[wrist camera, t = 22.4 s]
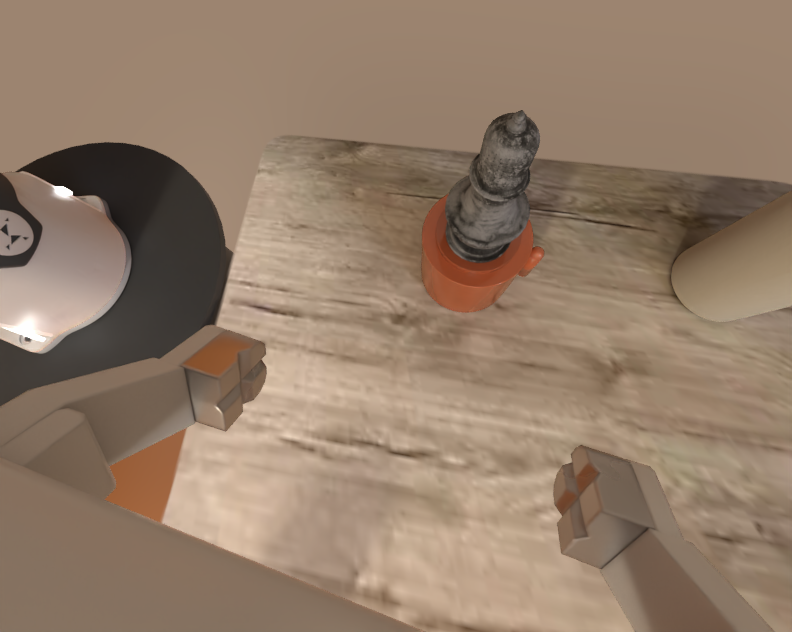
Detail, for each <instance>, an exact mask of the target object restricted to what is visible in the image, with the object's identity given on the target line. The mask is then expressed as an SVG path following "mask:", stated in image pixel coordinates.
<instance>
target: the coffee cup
mask: <svg viewBox="0 0 792 632" xmlns="http://www.w3.org/2000/svg"><path fill="white" fill-rule="evenodd" d="M447 196H448V195H446V196H444V197H443V198H442V199H440V200H439V201H438V202H437V203H436V204H435V205H434V206H433V207H432V209H431V210H430V211H429V213H428V215H427V217H426V219H425V222H424V225H423V231H422V259H421V275H422V281H423V284H424V286H425V288H426V290H427V292H428V293H429V295H430V296H431V297H432V298H433V299H434V300H435V301H436V302H437V303H438V304H440V305H441V306H443V307H445V308H447V309H450V310H453V311H457V312H475V311H479V310H482V309H485V308H487V307H489V306H490V305H492V304H493V303H494V302H496V301H497V300H498V299H499V298H500V296H501V295H502V294H503V293H504V291H505V290H506V289H507V288H508V286H509V285H510V284H511V282H512V281H513V280H514V279H515V277H516V276H517V275H519V276H521V277H525V276H527V275H528V274H529V273H530V272H531V271H532V269H533V268H534V267H535V266H536V265H537V264H538V262H539V261H540V260H541V259H542V258H543V256H544V250H543V248H541V247H538V246H536V247H533V230H532V226H531V223H530V220H528V222H527V225H526V227H525V229H524V230H523V231H522V233H521V234H520V235H519V236H518V237H517V238H515V239H514V240H513V241H511V243H510V245H509V248H508V249H507V250H506V251H505V253H504V254H503V255H501V256H500V257H499V258H497V259H495V260H493V261H490V262H485V263H474V262H469V261H467V260H464V259H462V258H460V257H459V256H458V255H456V254H455V253H454V252H453V251H452V249H451V248H450V247H449V244H448V242H447V240H446V233H445V231H446V224H447V220H446V214H445V205H446V199H447ZM532 247H533V248H532Z"/></svg>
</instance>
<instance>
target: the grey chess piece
mask: <svg viewBox="0 0 792 632" xmlns="http://www.w3.org/2000/svg"><path fill="white" fill-rule="evenodd" d="M539 143H540V134H539V130H538V128H537V127H536V125H535V123H534V122H533V121H532V120H531V119H530V118H529V117H527V116H526V115H525V113H524V112H523V110H521V111H518V112H516V113H508V114H505V115H502V116H499V117H498V118H496V119H495V120H493V121H492V123H491V124H490V125H489V127H488V128H487V130H486V133H485V135H484V139H483V144H482V148H481V151H480V154H478V155H477V156H476V157H475V159H474V160H473V161H472V164H471V166H470V170H469V176H466V177H464V178H463V179H462V180H460V181H459V182H457V183H456V184H455V185H454V187H453V188H452V189H451V190H450V192H449V194H448V196H447V199H446V205H445V214H446V220H447V224H446V231H445V233H446V240H447V242H448V244H449V247H450V248H451V249H452V251H453V252H454V253H455V254H456V255H458V256H459V257H460V258H462V259H464V260H467V261H469V262H474V263H485V262H490V261H493V260H495V259H497V258H499V257H500V256H501V255H503V254H504V253H505V251H506V250H507V249H508V248H509V245H510V243H511V241H513V240H514V239H515V238H517V237H518V236H519V235H520V234H521V233H522V231H523V230H524V229H525V227H526V225H527V222H528V220H529V214H530V206H529V201H528V198H527V196H526V194H525V192H524V191H525V190H526V188H527V186H528V184H529V181H530V170H529V167H530V165H531V163H532V161H533V159H534V156H535V154H536V152H537V150H538V147H539Z"/></svg>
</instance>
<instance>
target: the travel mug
mask: <svg viewBox="0 0 792 632" xmlns="http://www.w3.org/2000/svg"><path fill="white" fill-rule="evenodd" d="M671 280H672V285H673V289H674V291H675V293H676V295H677V297H678V298H679V300H680V301H681V302H682V303H683V305H684V306H685V307H687V308H688V309H689V310H690V311H691V312H693V313H694V314H696V315H698V316H700V317H702V318H705V319H708V320H711V321H717V322H729V321H734V320H738V319H742V318H746V317H750V316H754V315H758V314H762V313H766V312H770V311H774V310H777V309H781V308H785V307H789V306H792V191H790V192H788V193H786V194H785V195H783V196H781V197H779V198H777V199H776V200H774V201H772V202H770V203H769V204H767V205H765V206H763V207H761V208H760V209H758V210H756V211H754V212H753V213H751V214H749V215H747V216H745V217H744V218H742V219H740V220H738V221H737V222H735V223H733V224H731V225H729V226H728V227H726V228H724V229H722V230H721V231H719V232H717V233H715V234H713V235H712V236H710V237H708V238H706V239H705V240H703V241H701V242H699V243H697V244H696V245H694V246H692V247H690V248H689V249H687V250H685V251H684V252H682V253H681V254H680V255H679V256H678V258H677V259H676V260H675V262H674V264H673V267H672V272H671Z"/></svg>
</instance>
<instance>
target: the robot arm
mask: <svg viewBox="0 0 792 632" xmlns="http://www.w3.org/2000/svg"><path fill="white" fill-rule="evenodd" d="M72 193H73V192H71V191H70V190H68V189H67V188H65V187H56V186H54V185H52V184H50V183H48V182H46V181H44V180H42V179H40V178H38V177H36V176H34V175H32V174H30V173H27V172H24V171H21V172H19V173H18V172H6V173H0V339H2V340H5V341H7V342H9V343H12V344H14V345H16V346H19V347H21V348H23V349H26V350H28V351H31V352H35V353H39V354H43V353H46V352H48V351H50V350H51V349H52V348H54V347H55V346H56V345H57V344H58V343H59V342H60V341H61V340H62V339H64V338H65V337H66V336H67V335H69V334H70V333H72V332H75V331H77V330H79V329H81V328H84V327H86V326H88V325H89V324H91V323H93V322H94V321H96V320H97V319H99V318H100V317H101V316H102V315H104V314H105V313H106V312H107V311H108V310H109V309H110V308H111V307H112V306H113V304H114V303H115V302H116V301H117V299H118V298H119V296H120V295H121V293H122V291H123V290H124V288H125V285H126V283H127V281H128V278H129V274H130V270H131V260H132V258H131V249H130V245H129V242H128V239H127V237H126V236H125V234H124V232H123V231H122V230H121V229H120V228H119V227H118V226H117V225H116V224H115V222H114V221H113V220H112V218H111V214H110V210H109V207H108V204H107V202H106V201H105V200H103V199H101V198H99V197H97V196H78V197H75V196H73V195H72ZM265 355H266V348H265V344H264V343H262V342H261V341H258V340H255V339H252V338H249V337H247V336H244V335H241V334H238V333H235V332H232V331H230V330H225V329H223V328H220V327H217V326H214V325H208V326H205V327H204V328H202V329H201V330H199V331H198V332H197V333H195V334H194V335H192V336H191V337H190V338H188V339H187V340H185V341H184V342H183V343H181V344H180V345H179V346H177V347H176V348H174V349H173V350H172V351H170V352H169V353H167V354H166V355H165V356H163V357H162V358H160V359H157V358H150V359H146V360H143V361H139V362H135V363H131V364H127V365H123V366H119V367H116V368H112V369H108V370H104V371H100V372H96V373H93V374H89V375H85V376H81V377H77V378H73V379H69V380H66V381H62V382H58V383H54V384H50V385H46V386H43V387H39V388H35V389H31V390H28V391H26V392H24V393H23V394H21V395H19V396H18V397H16V398H14V399H12V400H11V401H9V402H7V403H6V404H4V405H2V406H1V407H0V632H425V631H423V630H420V629H418V628H415V627H413V626H410V625H408V624H406V623H403V622H401V621H398V620H396V619H393V618H391V617H389V616H386V615H384V614H381V613H379V612H376V611H374V610H372V609H369V608H367V607H364V606H362V605H359V604H357V603H355V602H352V601H350V600H347V599H345V598H342V597H340V596H337V595H335V594H333V593H330V592H328V591H325V590H323V589H320V588H318V587H316V586H313V585H311V584H308V583H306V582H303V581H301V580H299V579H296V578H294V577H291V576H289V575H286V574H284V573H282V572H279V571H277V570H274V569H272V568H269V567H267V566H264V565H262V564H260V563H257V562H255V561H252V560H250V559H247V558H245V557H243V556H240V555H238V554H235V553H233V552H230V551H228V550H226V549H223V548H221V547H218V546H216V545H213V544H211V543H208V542H206V541H204V540H201V539H199V538H196V537H194V536H191V535H189V534H187V533H184V532H182V531H179V530H177V529H174V528H172V527H169V526H167V525H165V524H162V523H160V522H157V521H155V520H152V519H150V518H148V517H145V516H143V515H140V514H137V513H135V512H133V511H130V510H128V509H125V508H123V507H121V506H118V505H116V504H113V503H111V502H108V501H106V500H104V499H105V498H106V497H107V496H108V495H109V494H110V493H111V492H112V491H113V490H114V489H115V487H116V481H115V478H114V476H113V474H112V472H111V470H110V467H109V466H110V465H112V464H114V463H116V462H118V461H120V460H122V459H125V458H127V457H129V456H131V455H132V454H134V453H136V452H139V451H141V450H143V449H145V448H146V447H148V446H151V445H153V444H155V443H157V442H159V441H161V440H163V439H165V438H167V437H169V436H171V435H173V434H175V433H177V432H179V431H181V430H183V429H185V428H187V427H189V426H191V425H193V424H195V421H196V422H199V423H202V424H205V425H208V426H211V427H214V428H217V429H220V430H223V431H227V430H228V429H229V427H230V426H231V425H232V424H233V423H234V422H235V421H236V419H237V418H238V417H239V416H240V415H241V414H242V412H243V404H244V403H247V402H249V401H252V400H254V398H255V397H256V396H257V395H258V394H259V392H260V391H261V389H262V387H263V385H264V383H265V379H266V374H267V373H266V366H265V364H264V363H263V361H262V360H261V359H262V358H263V357H264V356H265ZM571 458H572V463H569V464H566V465H563V466H562V467H561V469H560V470H559V472H558V473H557V475H556V479H555V482H554V492H553V495H554V504H555V506H556V507H557V509H558V510H559V512H560V513H561V515H562V518H561V519H560V520H559V522H558V523H557V526H558V533H559V541H560V548H561V554H564V555H566V556H569V557H571V558H574V559H576V560H579V561H581V562H584V563H587V564H589V565H592V566H594V567H597V568H599V569H601V570H600V572H601V574H602V575H603V577H604V579H605V581H606V582H607V584H608V586H609V587H610V589H611V591H612V593H613V594H614V596H615V598H616V599H617V601H618V603H619V605H620V606H621V608H622V610H623V612H624V613H625V615H626V617H627V618H628V620H629V622H630V624H631V625H632V627H633V629H634V631H635V632H775V631H774V630H773V629H772V628H771V627H770V626H769V625H768V624H767V623H766V622H765V621H764V620H763V619H762V618H761V616H760V615H759V614H758V613H757V612H756V611H755V610H754V609H753V608H752V607H751V606H750V605H749V604H748V602H747V601H746V600H745V599H744V598H743V597H742V596H741V595H740V594H739V593H738V592H737V591H736V590H735V588H734V587H733V586H732V585H731V584H730V583H729V582H728V581H727V580H726V579H725V578H724V577H723V576H722V574H721V573H720V572H719V571H718V570H717V569H716V568H715V567H714V566H713V565H712V564H711V563H710V562H709V561H708V559H707V558H706V557H705V556H704V555H703V554H702V553H701V552H700V551H699V550H698V549H697V548H696V547H695V545H694V544H693V543H691V542H688V541H685V540H684V538H683V536H682V534H681V531H680V529H679V527H678V524H677V522H676V520H675V517H674V515H673V513H672V510H671V508H670V506H669V503H668V501H667V499H666V496H665V494H664V492H663V489H662V487H661V485H660V482H659V480H658V478H657V475H656V473H655V471H654V470H653V469H652V468H651V467H650V466H647V465H644V464H640V463H637V462H634V461H631V460H628V459H623V458H621V457H618V456H614V455H611V454H608V453H605V452H602V451H599V450H595V449H592V448H589V447H586V446H583V445H580V446H578V447H576V448H575V449H574V451H573V452H572V453H571Z"/></svg>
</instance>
